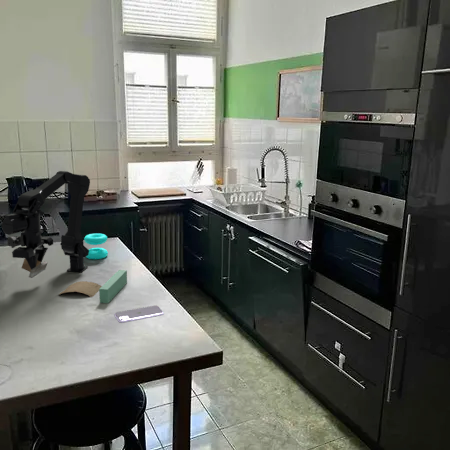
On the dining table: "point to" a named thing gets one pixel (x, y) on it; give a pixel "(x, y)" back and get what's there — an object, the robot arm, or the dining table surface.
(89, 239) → the donuts
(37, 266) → the tan block on bar
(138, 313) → the mobile phone
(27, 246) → the robot arm
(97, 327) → the dining table surface
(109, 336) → the dining table surface
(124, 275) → the bar
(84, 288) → the clay tablet
